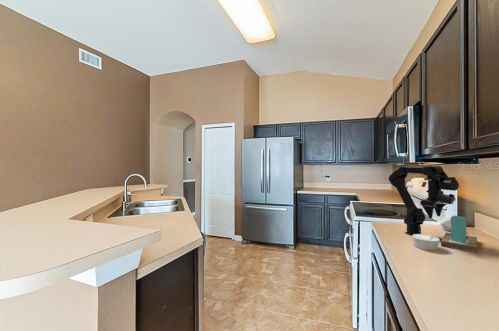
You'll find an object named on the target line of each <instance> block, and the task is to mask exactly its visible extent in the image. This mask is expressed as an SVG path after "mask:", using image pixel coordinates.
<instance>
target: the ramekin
mask: <svg viewBox="0 0 499 331" xmlns="http://www.w3.org/2000/svg"><path fill="white" fill-rule="evenodd" d="M411 238H412V241H413V246H414V247H415V248H417V249H419V250H423V251H430V252H432V251H437V250H438V248H439V244H440V243H441V240H440V239H439V238H438V237H437V236H433V235H428V234H422V233H421V234H414V235H411Z"/></svg>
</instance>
